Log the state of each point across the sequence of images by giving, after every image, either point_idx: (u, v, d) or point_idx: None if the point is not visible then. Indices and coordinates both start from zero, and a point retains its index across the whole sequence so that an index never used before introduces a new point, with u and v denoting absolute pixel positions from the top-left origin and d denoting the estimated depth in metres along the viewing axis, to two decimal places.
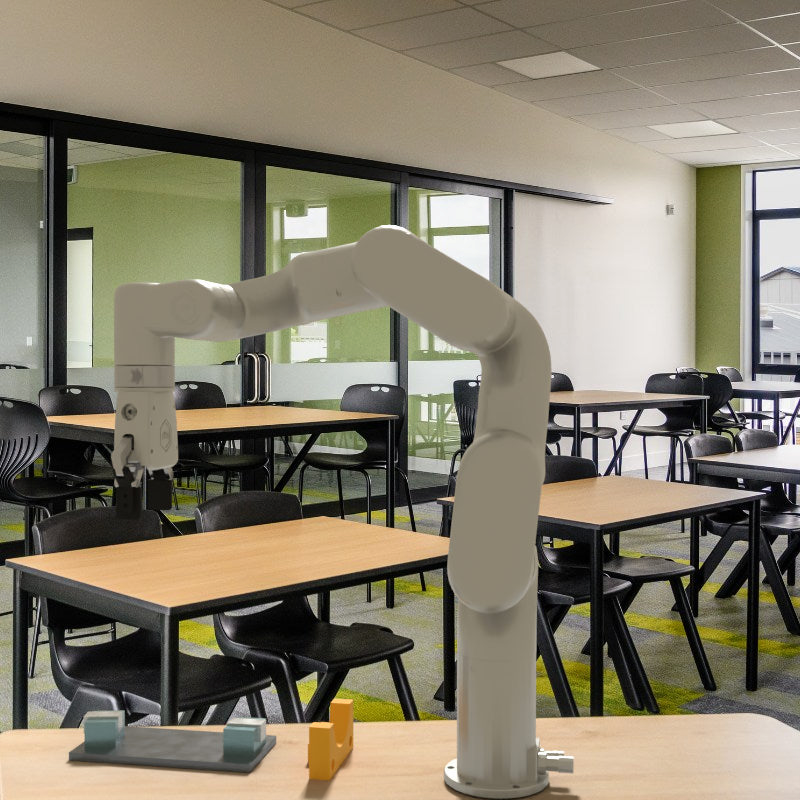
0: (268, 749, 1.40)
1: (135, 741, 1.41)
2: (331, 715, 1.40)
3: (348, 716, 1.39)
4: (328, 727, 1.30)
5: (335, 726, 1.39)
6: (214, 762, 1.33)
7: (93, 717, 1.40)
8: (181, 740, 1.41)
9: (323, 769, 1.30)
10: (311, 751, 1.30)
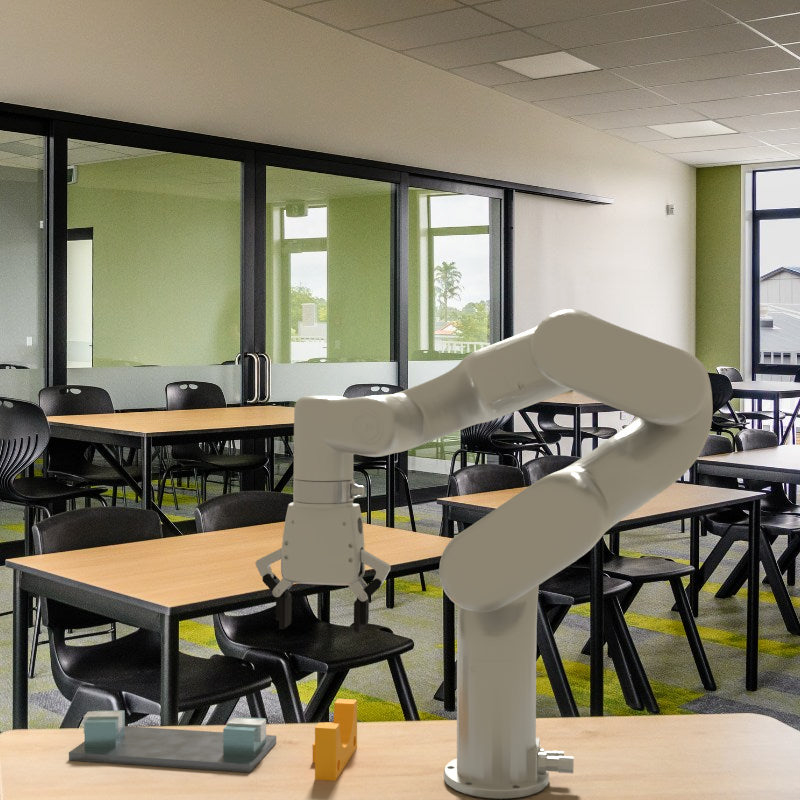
0: (268, 749, 1.40)
1: (135, 741, 1.41)
2: (335, 715, 1.40)
3: (352, 716, 1.39)
4: (334, 727, 1.30)
5: (339, 727, 1.39)
6: (214, 762, 1.33)
7: (93, 717, 1.40)
8: (181, 740, 1.41)
9: (329, 769, 1.30)
10: (316, 751, 1.30)
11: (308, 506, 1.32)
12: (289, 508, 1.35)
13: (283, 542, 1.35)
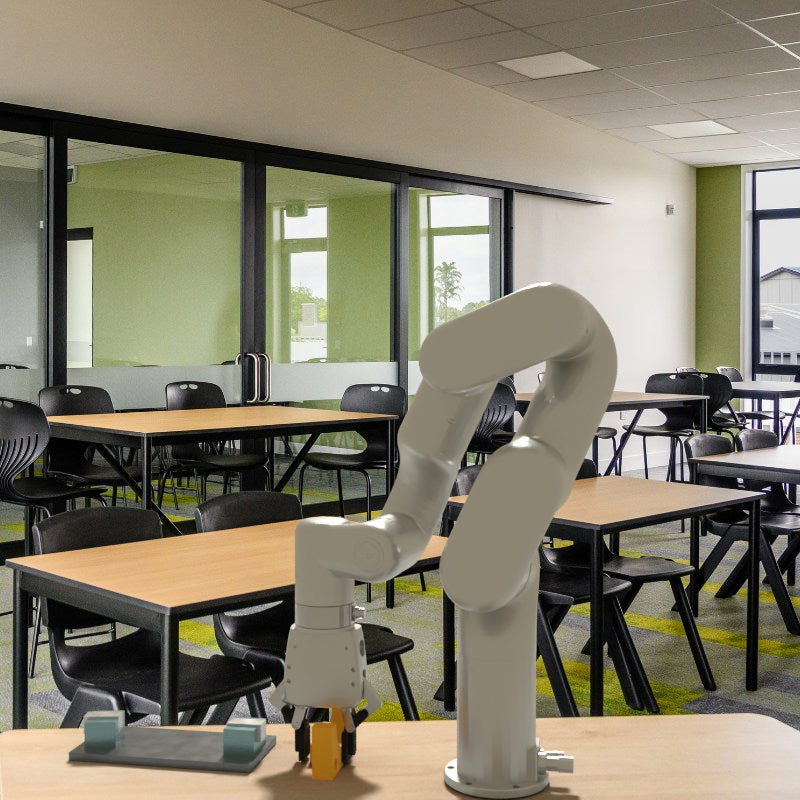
0: (268, 749, 1.40)
1: (135, 741, 1.41)
2: (333, 715, 1.40)
3: None
4: (331, 727, 1.30)
5: (336, 726, 1.39)
6: (214, 762, 1.33)
7: (93, 717, 1.40)
8: (181, 740, 1.41)
9: (326, 769, 1.30)
10: (313, 751, 1.30)
11: (310, 631, 1.32)
12: (291, 632, 1.35)
13: (285, 666, 1.35)
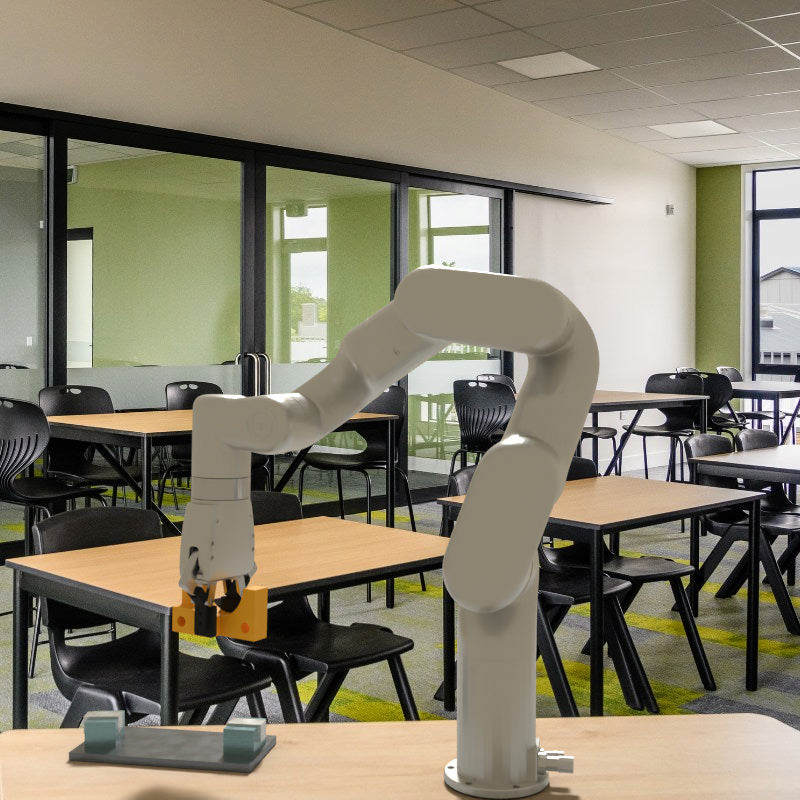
0: (268, 749, 1.40)
1: (135, 741, 1.41)
2: None
3: None
4: (264, 587, 1.37)
5: None
6: (214, 762, 1.33)
7: (93, 717, 1.40)
8: (181, 740, 1.41)
9: (263, 627, 1.37)
10: (255, 613, 1.35)
11: (238, 502, 1.35)
12: (212, 508, 1.34)
13: (208, 543, 1.33)
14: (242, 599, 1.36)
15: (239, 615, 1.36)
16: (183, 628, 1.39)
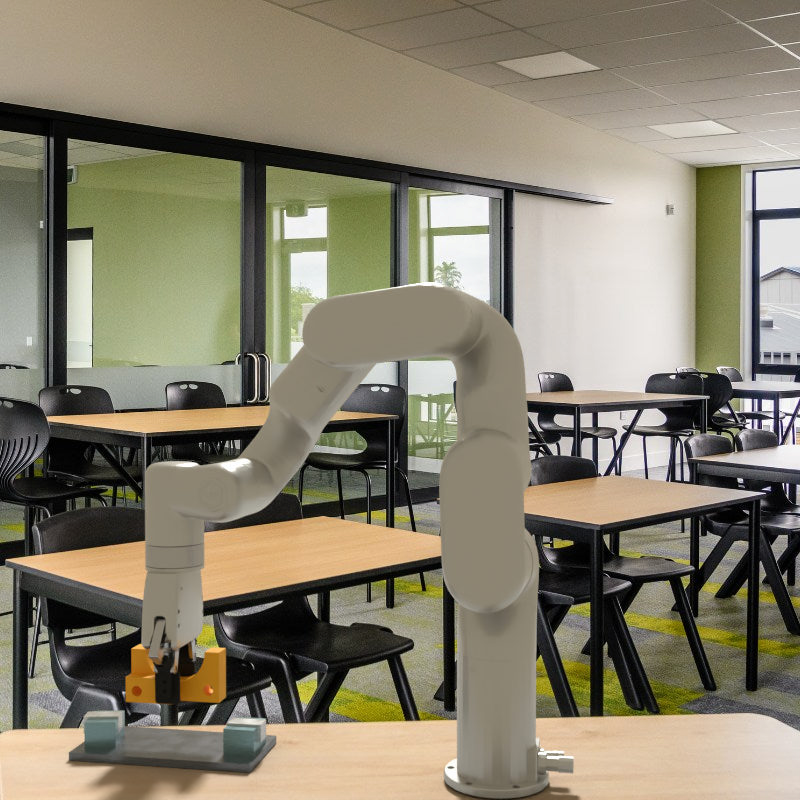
0: (268, 749, 1.40)
1: (135, 741, 1.41)
2: (148, 660, 1.40)
3: None
4: (222, 648, 1.40)
5: None
6: (214, 762, 1.33)
7: (93, 717, 1.40)
8: (181, 740, 1.41)
9: (223, 688, 1.40)
10: (219, 674, 1.38)
11: (199, 568, 1.38)
12: (177, 576, 1.35)
13: (175, 611, 1.35)
14: (204, 662, 1.38)
15: (201, 678, 1.39)
16: (139, 698, 1.38)
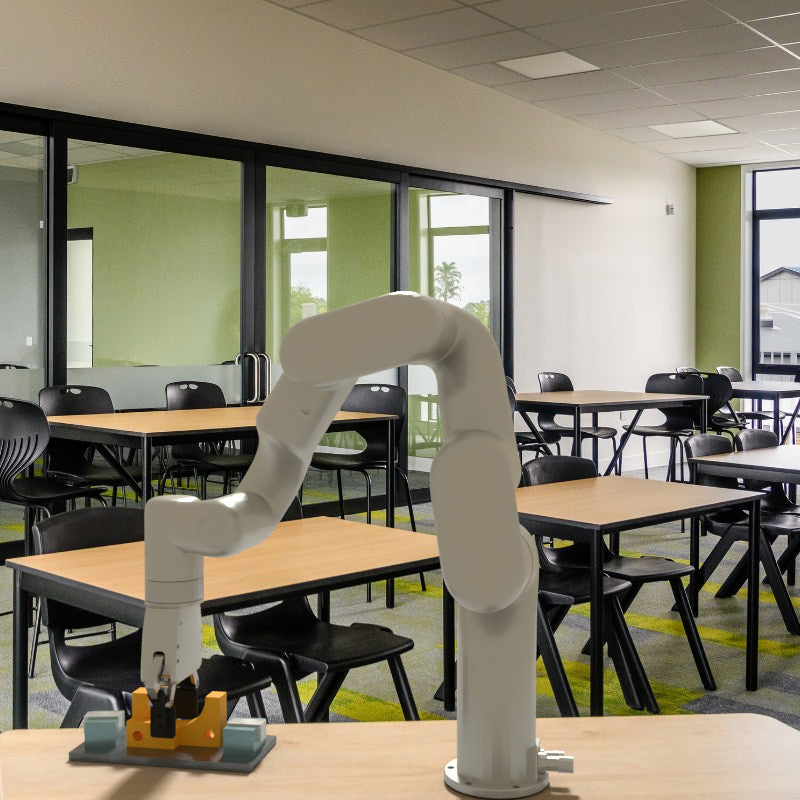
0: (268, 749, 1.40)
1: None
2: None
3: None
4: (223, 692, 1.41)
5: None
6: (214, 762, 1.33)
7: (93, 717, 1.40)
8: None
9: None
10: (220, 719, 1.39)
11: (198, 603, 1.38)
12: (176, 611, 1.35)
13: (175, 647, 1.35)
14: (205, 707, 1.39)
15: (202, 723, 1.39)
16: (140, 742, 1.38)
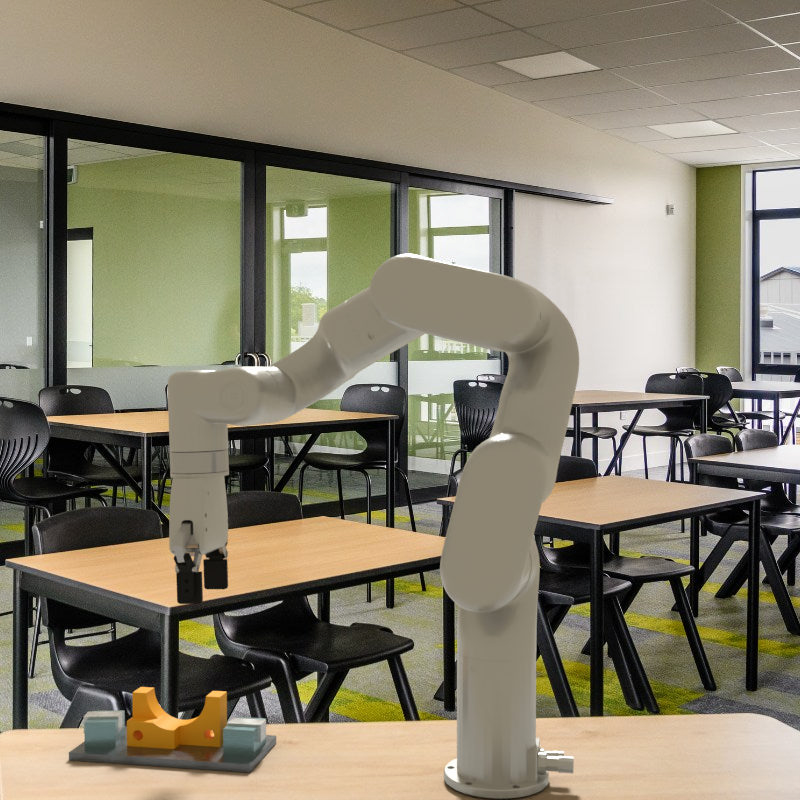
0: (268, 749, 1.40)
1: None
2: (149, 704, 1.40)
3: (156, 699, 1.43)
4: (223, 692, 1.41)
5: (157, 712, 1.41)
6: (214, 762, 1.33)
7: (93, 717, 1.40)
8: None
9: None
10: (220, 719, 1.39)
11: (224, 474, 1.39)
12: (203, 481, 1.36)
13: (202, 515, 1.35)
14: (205, 707, 1.39)
15: (202, 722, 1.39)
16: (140, 742, 1.39)
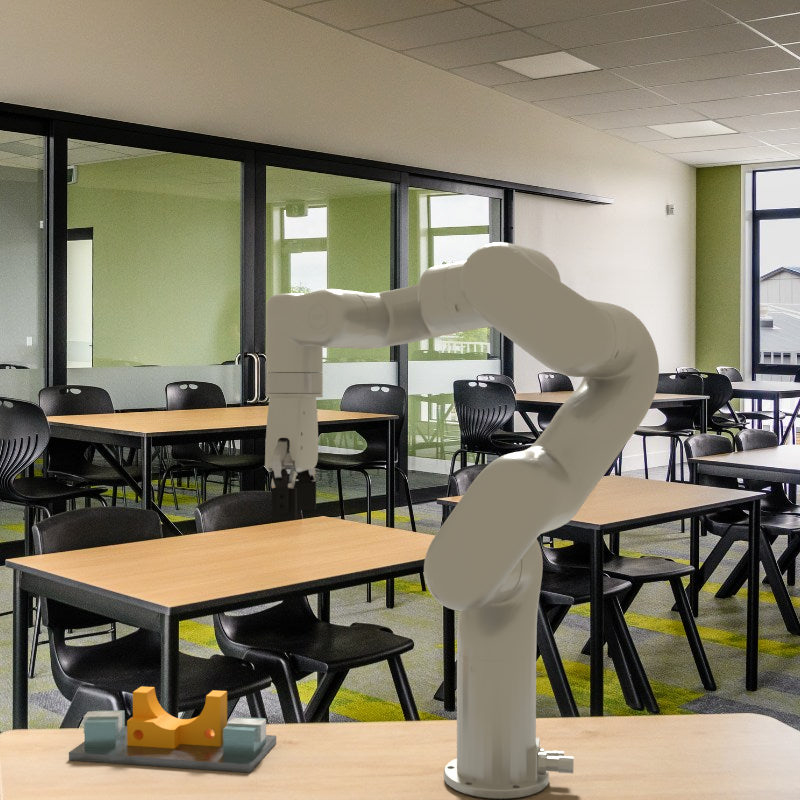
0: (268, 749, 1.40)
1: None
2: (149, 704, 1.41)
3: (156, 699, 1.43)
4: (223, 691, 1.41)
5: (157, 712, 1.41)
6: (214, 762, 1.33)
7: (93, 717, 1.40)
8: None
9: None
10: (221, 718, 1.39)
11: (319, 396, 1.42)
12: (300, 400, 1.40)
13: (299, 433, 1.39)
14: (205, 706, 1.39)
15: (203, 722, 1.39)
16: (141, 741, 1.39)
